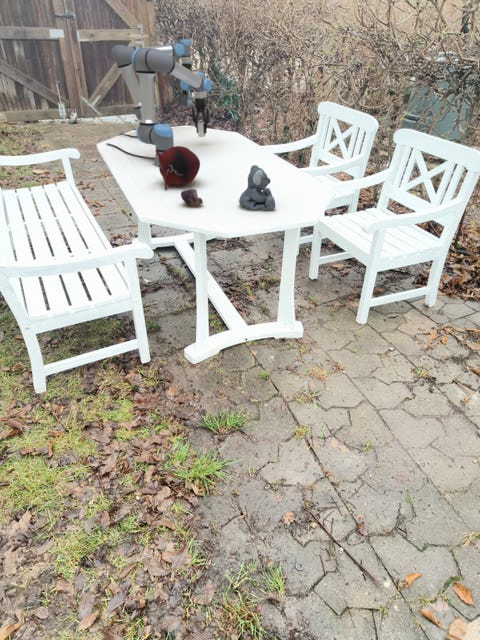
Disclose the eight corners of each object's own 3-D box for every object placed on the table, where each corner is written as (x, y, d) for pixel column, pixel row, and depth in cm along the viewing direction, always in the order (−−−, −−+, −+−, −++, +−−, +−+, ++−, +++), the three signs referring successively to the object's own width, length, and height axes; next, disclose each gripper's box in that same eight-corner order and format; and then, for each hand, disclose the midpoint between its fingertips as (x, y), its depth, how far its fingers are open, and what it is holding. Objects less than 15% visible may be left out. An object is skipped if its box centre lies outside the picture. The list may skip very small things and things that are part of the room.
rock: (196, 202, 238) (178, 205, 233) (194, 185, 234) (176, 188, 230) (205, 205, 228) (187, 208, 224) (203, 188, 224) (185, 191, 220)
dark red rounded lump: (157, 151, 264) (151, 150, 240) (196, 143, 263) (194, 140, 240) (167, 188, 271) (161, 190, 247) (205, 180, 270) (203, 181, 246)
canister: (202, 137, 326) (202, 124, 321) (196, 136, 328) (196, 123, 323) (206, 135, 330) (206, 122, 325) (200, 135, 332) (200, 122, 327)
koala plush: (276, 211, 223) (277, 171, 212) (240, 212, 222) (240, 172, 211) (271, 199, 237) (272, 161, 226) (237, 200, 236) (237, 162, 225)
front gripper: (214, 97, 314) (215, 132, 327) (190, 96, 320) (192, 130, 333) (209, 99, 309) (210, 134, 322) (185, 97, 315) (188, 132, 328)
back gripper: (183, 64, 335) (185, 96, 347) (197, 61, 354) (199, 91, 366) (174, 64, 337) (177, 95, 349) (189, 61, 356) (191, 91, 368)
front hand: (201, 132), depth 328 cm, fingers closed on canister, 5 cm apart
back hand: (188, 93), depth 357 cm, fingers open, 13 cm apart
